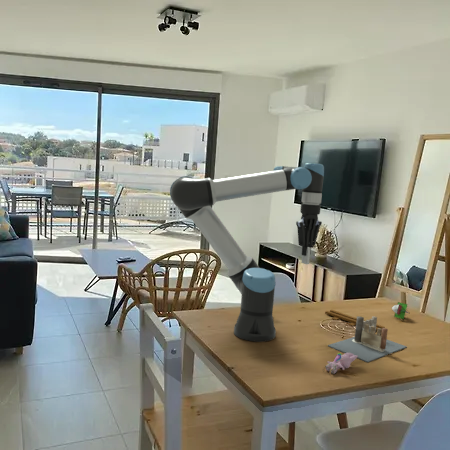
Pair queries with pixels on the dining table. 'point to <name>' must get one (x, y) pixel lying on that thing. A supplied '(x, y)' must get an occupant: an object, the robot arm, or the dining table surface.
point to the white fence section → (360, 326)
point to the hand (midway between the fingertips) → (305, 263)
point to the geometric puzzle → (400, 310)
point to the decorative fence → (346, 318)
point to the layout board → (366, 349)
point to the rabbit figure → (340, 362)
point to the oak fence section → (374, 336)
